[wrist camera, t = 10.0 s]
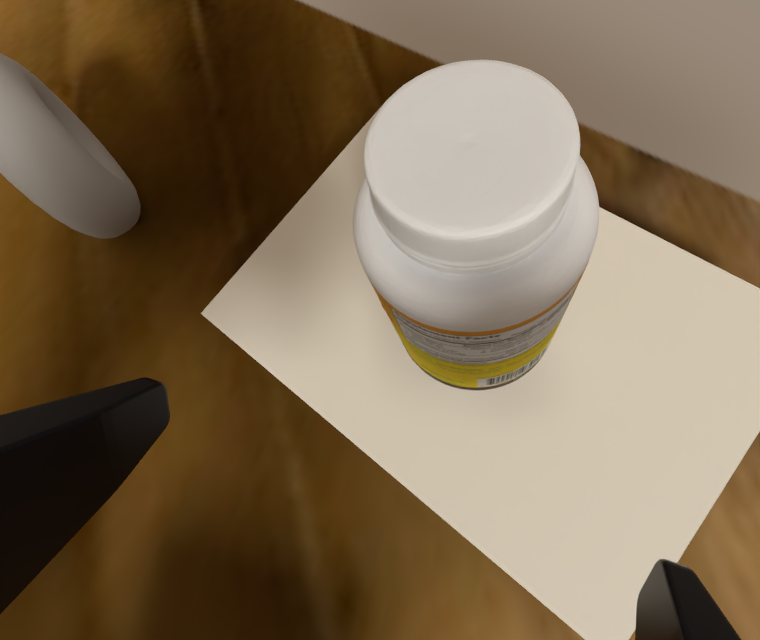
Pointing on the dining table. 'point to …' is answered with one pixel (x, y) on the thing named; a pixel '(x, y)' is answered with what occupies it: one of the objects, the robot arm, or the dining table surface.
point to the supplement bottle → (475, 219)
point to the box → (526, 400)
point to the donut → (60, 159)
